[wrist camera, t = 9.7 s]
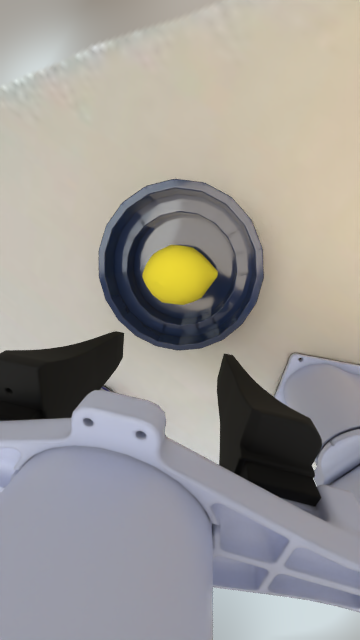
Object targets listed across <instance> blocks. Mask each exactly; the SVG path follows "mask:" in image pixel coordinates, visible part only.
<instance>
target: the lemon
mask: <svg viewBox="0 0 360 640" xmlns="http://www.w3.org/2000/svg"><path fill="white" fill-rule="evenodd" d="M217 276H218V271H217V270H216V269H215V268H214V267H213V265H212V264H211V263H210V262H209V261H208V260H207V259H206V258H205V257H204V256H203V255H202V254H201V253H200V252H198V251H197V250H196V249H194V248H193V247H187V246H181V245H169V246H167V247H165V248H163V249H161V250H159V251H157V252H156V253H154V254H153V255H152V256H151V258H150V259H149V261H148V262H147V264H146V266H145V269H144V271H143V275H142V277H143V280H144V282H145V284H146V286H147V288H148V289H149V290H150V292H151V293H152V295H153V296H155V297H156V298H157V299H158V300H160V301H161V302H162V303H170V304H178V305H185V304H188V303H191V302H194V301H196V300H198V299H200V298H202V296H203V295H204V294H205V293H206V291H207V290H208V289H209V287H210V286H211V284H212V283H213V282H214V280H215V279H216V278H217Z"/></svg>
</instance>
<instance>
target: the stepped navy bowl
mask: <svg viewBox="0 0 360 640" xmlns="http://www.w3.org/2000/svg"><path fill="white" fill-rule="evenodd" d="M169 245H181V246H187V247H193V248H194V249H196V250H197V251H198V252H200V253H201V254H202V255H203V256H204V257H205V258H206V259H207V260H208V261H209V262H210V263H211V264H212V265H213V267H214V268H215V269H216V270H217V271H218V276H217V278H216V279H215V280H214V282H213V283H212V284H211V286H210V287H209V289H208V290H207V291H206V293H205V294H204V295H203V296H202V298H200V299H198V300H196V301H194V302H191V303H188V304H185V305H178V304H170V303H162V302H161V301H160V300H158V299H157V298H156V297H155V296H153V295H152V293H151V292H150V290H149V289H148V288H147V286H146V284H145V282H144V280H143V277H142V275H143V271H144V269H145V266H146V264H147V262H148V261H149V259H150V258H151V256H152V255H153V254H154V253H156V252H157V251H159V250H161V249H163V248H165V247H167V246H169ZM263 278H264V271H263V249H262V245H261V243H260V240H259V238H258V235H257V233H256V230H255V227H254V225H253V222H252V221H251V219H250V218H249V217H248V215H247V214H246V213H245V212H244V211H243V210H242V208H241V207H240V206H239V205H238V204H237V203H236V202H235V200H234V199H233V198H232V197H230V196H229V195H227V194H225V193H223V192H221V191H219V190H217V189H216V188H214V187H212V186H210V185H208V184H206V183H204V182H197V181H189V180H180V179H171V180H168V181H164V182H160V183H156V184H152V185H148V186H146V187H144V188H142V189H141V190H139V191H138V192H137V193H135V194H134V195H132V196H131V197H130V198H128V199H127V200H125V201H124V202H123V203H122V204H121V205H120V207H119V208H118V209H117V211H116V212H115V214H114V215H113V217H112V218H111V219H110V221H109V222H108V224H107V226H106V228H105V231H104V235H103V238H102V241H101V245H100V248H99V279H100V282H101V286H102V289H103V292H104V296H105V299H106V301H107V303H108V304H109V306H110V307H111V309H112V311H113V312H114V314H115V315H116V317H117V318H118V320H119V321H120V322H121V323H122V324H123V325H124V326H126V327H127V328H128V329H129V330H130V331H131V332H132V333H133V334H134V335H135V336H137V337H139V338H141V339H143V340H145V341H147V342H149V343H151V344H153V345H155V346H158V347H163V348H168V349H173V350H189V349H200V348H203V347H206V346H208V345H211V344H214V343H216V342H219V341H221V340H222V339H224V338H226V337H227V336H228V335H229V334H231V333H232V332H233V331H234V330H236V329H237V328H238V327H239V326H241V324H243V322H244V321H245V319H246V318H247V316H248V315H249V313H250V312H251V310H252V309H253V307H254V306H255V304H256V302H257V299H258V296H259V292H260V289H261V285H262V282H263Z"/></svg>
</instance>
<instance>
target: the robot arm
mask: <svg viewBox="0 0 360 640" xmlns="http://www.w3.org/2000/svg"><path fill="white" fill-rule="evenodd" d="M123 342H124V333H121V332H112V333H108V334H106V335H103V336H100V337H97V338H94V339H91V340H88V341H84V342H81V343H77V344H73V345H69V346H64V347H57V348H51V349H41V350H13V351H10V350H6V351H4V352H2V353H0V640H213V587H216V588H223V589H230V590H238V591H246V592H253V593H261V594H269V595H277V596H285V597H291V598H298V599H304V600H310V601H315V602H320V603H324V604H329V605H334V606H338V607H341V608H345V609H349V610H353V611H356V612H360V365H356V364H350V363H345V362H340V361H334V360H329V359H324V358H318V357H313V356H308V355H302V354H297V353H294V354H292V355H291V356H290V358H289V361H288V363H287V366H286V368H285V371H284V374H283V376H282V379H281V381H280V384H279V386H278V389H277V391H276V394H275V396H274V397H273V396H272V395H270V394H269V393H268V392H267V391H265V390H264V389H263V388H262V387H261V386H260V385H258V384H257V383H256V382H255V381H254V380H253V379H252V378H251V377H250V376H249V374H248V373H247V372H246V371H245V370H244V369H243V367H242V366H241V365H240V364H239V362H238V361H237V360H236V359H235V357H234V356H233V355H228V354H224V356H223V359H222V363H221V367H220V371H219V375H218V380H217V395H218V406H219V416H220V461H219V465H218V464H216V463H214V462H213V461H211V460H209V459H207V458H205V457H203V456H201V455H199V454H198V453H196V452H194V451H192V450H190V449H188V448H186V447H185V446H183V445H181V444H179V443H177V442H175V441H173V440H172V439H170V438H168V437H166V435H165V426H166V417H165V412H164V411H163V410H162V409H161V408H160V407H159V405H157V404H155V403H153V402H150V401H148V400H144V399H139V398H135V397H131V396H126V395H122V394H118V393H114V392H109V391H105V390H100V389H101V388H102V387H103V385H104V384H105V383H106V381H107V380H108V379H109V378H110V376H111V375H112V374H113V372H114V371H115V370H116V368H117V367H118V365H119V363H120V361H121V360H122V358H123ZM299 358H301V359H300V360H298V359H299ZM314 461H315V463H316V465H317V468H316V469H315V470H313V468H312V464H313V462H314ZM313 478H314V480H315V482H316V484H317V487H316V484H315V482H314V480H313Z"/></svg>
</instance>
